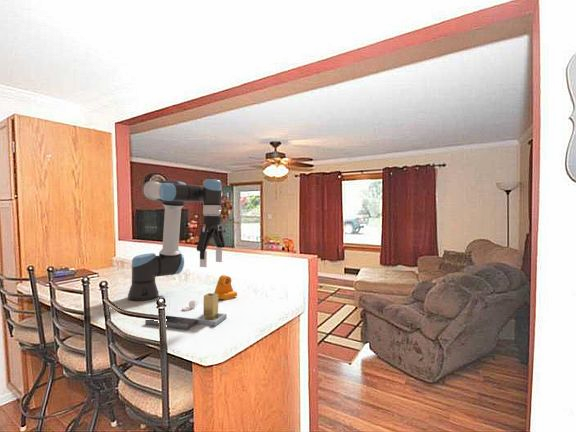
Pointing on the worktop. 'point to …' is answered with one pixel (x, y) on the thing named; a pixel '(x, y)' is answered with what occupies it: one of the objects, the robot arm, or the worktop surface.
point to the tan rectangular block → (210, 306)
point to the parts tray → (210, 322)
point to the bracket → (225, 288)
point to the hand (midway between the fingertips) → (211, 264)
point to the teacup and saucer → (190, 306)
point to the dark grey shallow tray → (175, 322)
